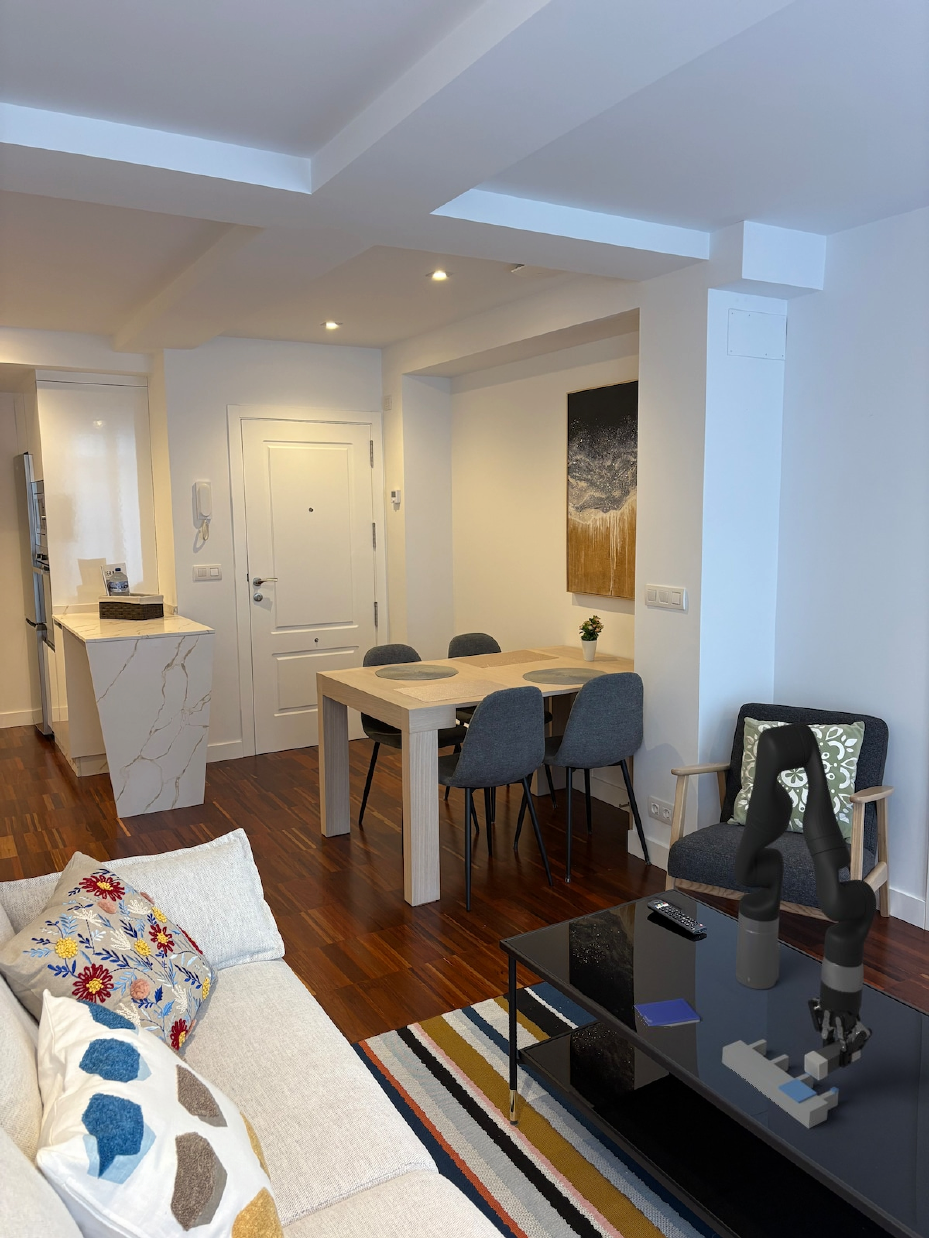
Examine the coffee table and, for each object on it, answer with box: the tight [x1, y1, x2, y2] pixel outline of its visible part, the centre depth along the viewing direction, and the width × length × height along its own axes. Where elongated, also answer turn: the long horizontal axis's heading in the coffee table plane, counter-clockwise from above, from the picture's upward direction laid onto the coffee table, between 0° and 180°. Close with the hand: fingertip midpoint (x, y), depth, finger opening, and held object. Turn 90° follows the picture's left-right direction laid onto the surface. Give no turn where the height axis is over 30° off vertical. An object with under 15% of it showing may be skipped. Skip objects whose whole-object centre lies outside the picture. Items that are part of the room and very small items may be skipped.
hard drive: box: [633, 998, 701, 1027], centre depth 204 cm, size 2×8×12 cm
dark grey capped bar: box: [804, 1037, 861, 1081], centre depth 177 cm, size 12×3×3 cm, turn 119°
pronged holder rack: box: [721, 1038, 840, 1130], centre depth 180 cm, size 10×22×4 cm, turn 29°
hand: (836, 1060), depth 178 cm, fingers closed on dark grey capped bar, 3 cm apart
